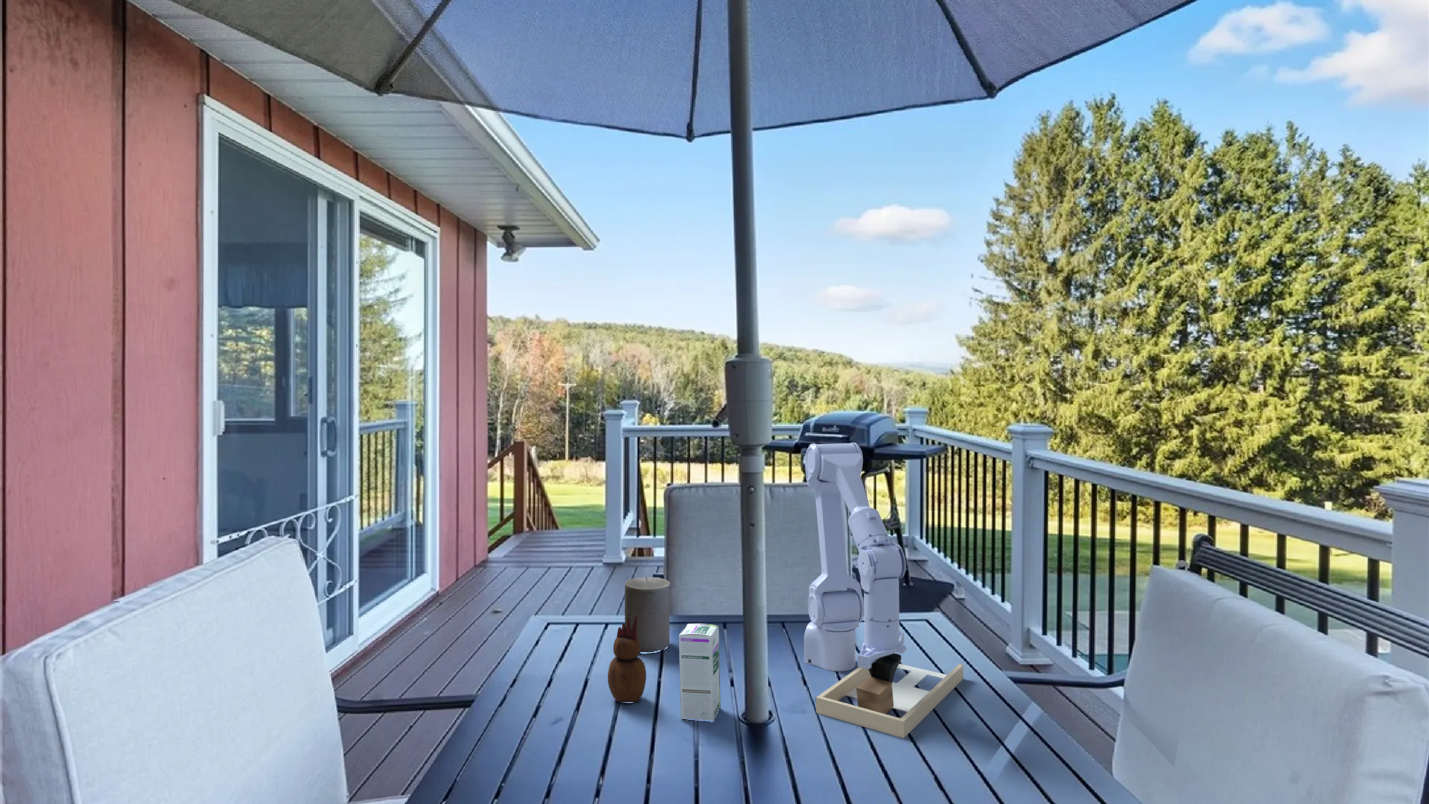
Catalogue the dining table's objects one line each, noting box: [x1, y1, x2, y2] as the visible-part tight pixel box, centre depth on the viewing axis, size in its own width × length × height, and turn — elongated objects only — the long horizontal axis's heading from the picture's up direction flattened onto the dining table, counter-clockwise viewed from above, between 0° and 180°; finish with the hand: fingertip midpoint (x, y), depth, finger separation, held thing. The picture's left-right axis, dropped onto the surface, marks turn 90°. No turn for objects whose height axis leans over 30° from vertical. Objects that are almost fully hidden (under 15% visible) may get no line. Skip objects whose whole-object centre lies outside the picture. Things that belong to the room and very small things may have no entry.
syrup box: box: [678, 623, 721, 721], centre depth 122 cm, size 6×6×14 cm
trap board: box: [815, 663, 964, 739], centre depth 126 cm, size 15×28×4 cm, turn 143°
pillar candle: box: [624, 576, 671, 652], centre depth 155 cm, size 10×10×15 cm
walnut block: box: [856, 676, 894, 715], centre depth 120 cm, size 4×4×4 cm
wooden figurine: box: [607, 616, 647, 703], centre depth 128 cm, size 7×6×15 cm
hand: (882, 697), depth 122 cm, fingers closed, pressing on walnut block
